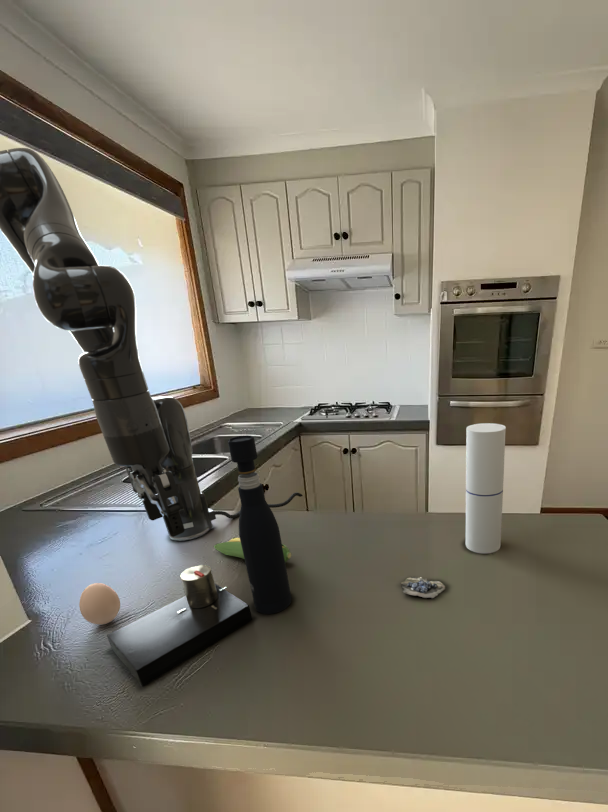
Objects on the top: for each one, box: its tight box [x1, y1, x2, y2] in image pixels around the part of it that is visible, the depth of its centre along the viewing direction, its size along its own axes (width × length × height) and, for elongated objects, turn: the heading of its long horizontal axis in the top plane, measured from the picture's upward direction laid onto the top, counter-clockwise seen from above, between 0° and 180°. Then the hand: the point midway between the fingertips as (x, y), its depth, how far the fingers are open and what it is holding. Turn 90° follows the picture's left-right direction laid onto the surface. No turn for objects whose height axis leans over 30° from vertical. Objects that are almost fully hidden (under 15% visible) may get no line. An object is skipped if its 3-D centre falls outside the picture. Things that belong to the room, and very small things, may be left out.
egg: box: [78, 582, 121, 626], centre depth 72 cm, size 6×6×8 cm
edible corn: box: [213, 537, 292, 563], centre depth 90 cm, size 5×20×5 cm, turn 64°
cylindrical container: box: [464, 422, 507, 554], centre depth 84 cm, size 7×7×25 cm
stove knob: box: [179, 564, 218, 608], centre depth 71 cm, size 5×5×6 cm
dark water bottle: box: [227, 435, 292, 615], centre depth 69 cm, size 6×6×30 cm
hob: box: [106, 582, 253, 687], centre depth 69 cm, size 18×12×3 cm
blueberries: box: [400, 576, 446, 599], centre depth 75 cm, size 7×8×2 cm
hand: (166, 525), depth 67 cm, fingers open, 8 cm apart
